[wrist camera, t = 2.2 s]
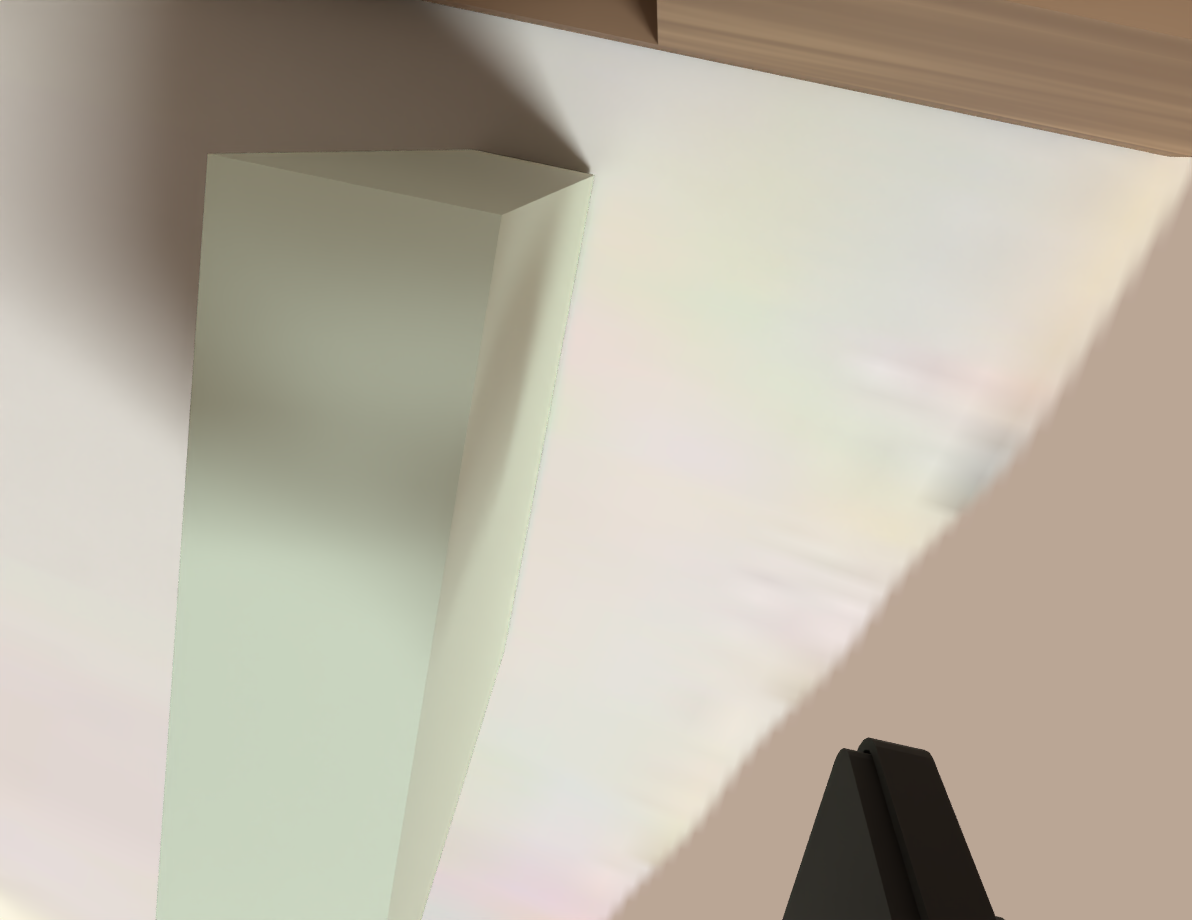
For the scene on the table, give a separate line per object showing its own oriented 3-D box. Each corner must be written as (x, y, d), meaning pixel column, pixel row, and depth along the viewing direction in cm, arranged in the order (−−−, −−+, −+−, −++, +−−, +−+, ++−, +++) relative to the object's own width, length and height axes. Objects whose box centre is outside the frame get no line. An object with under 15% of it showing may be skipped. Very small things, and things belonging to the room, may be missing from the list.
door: (504, 651, 23) (349, 1151, 12) (375, 625, 23) (93, 1098, 12) (595, 174, 20) (502, 214, 8) (443, 143, 20) (136, 138, 8)
